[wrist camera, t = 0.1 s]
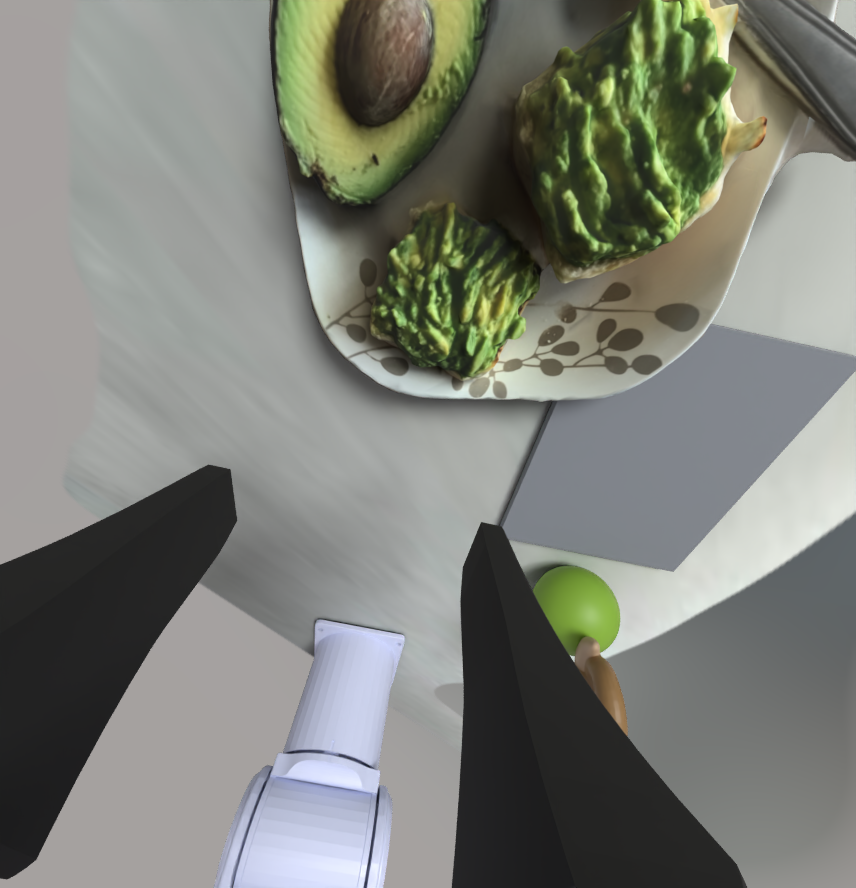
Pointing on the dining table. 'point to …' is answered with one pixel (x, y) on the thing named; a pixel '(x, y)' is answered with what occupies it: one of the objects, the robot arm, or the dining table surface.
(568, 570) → the snail figurine
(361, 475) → the dining table surface
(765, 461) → the slate mat
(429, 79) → the salad plate
